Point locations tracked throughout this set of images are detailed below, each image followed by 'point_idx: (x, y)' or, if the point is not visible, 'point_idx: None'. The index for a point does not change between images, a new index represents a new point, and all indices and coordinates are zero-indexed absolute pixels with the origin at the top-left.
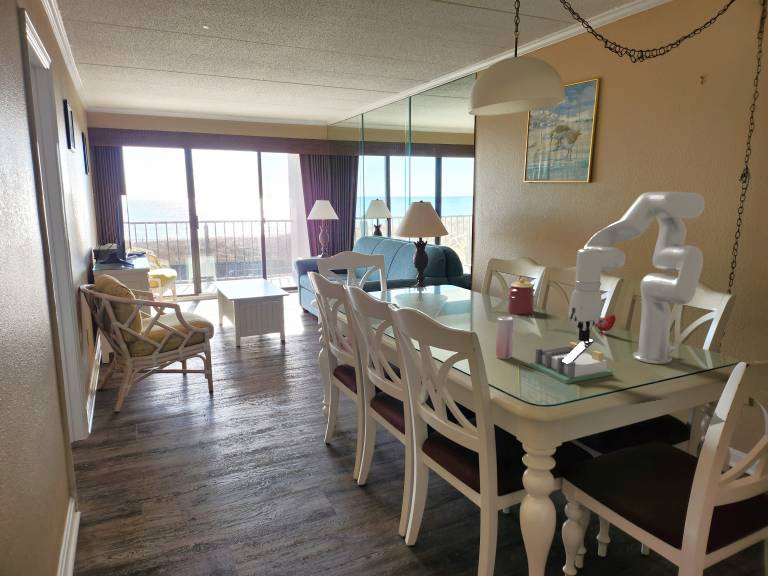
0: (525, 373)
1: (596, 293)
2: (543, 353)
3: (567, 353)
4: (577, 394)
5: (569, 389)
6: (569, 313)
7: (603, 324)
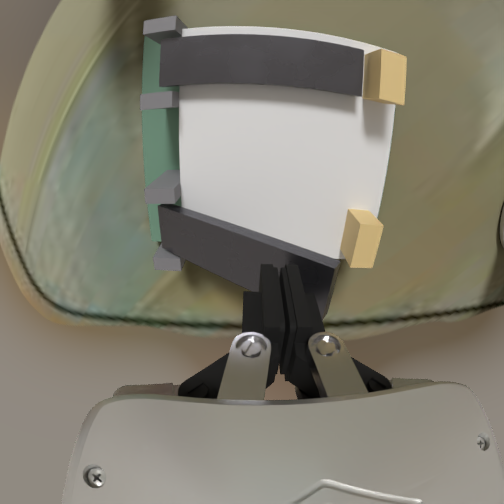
0: (90, 103)
1: None
2: (162, 61)
3: (308, 92)
4: (143, 302)
5: (141, 272)
6: (75, 468)
7: None
